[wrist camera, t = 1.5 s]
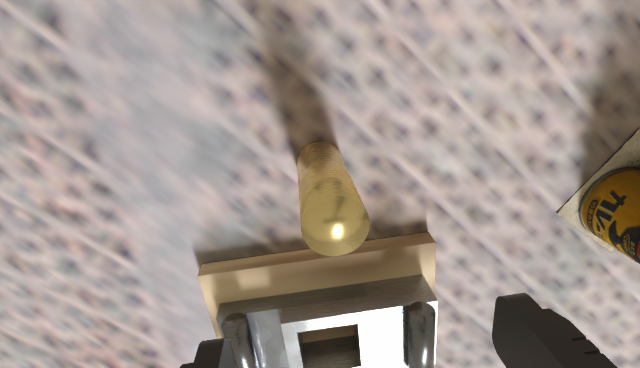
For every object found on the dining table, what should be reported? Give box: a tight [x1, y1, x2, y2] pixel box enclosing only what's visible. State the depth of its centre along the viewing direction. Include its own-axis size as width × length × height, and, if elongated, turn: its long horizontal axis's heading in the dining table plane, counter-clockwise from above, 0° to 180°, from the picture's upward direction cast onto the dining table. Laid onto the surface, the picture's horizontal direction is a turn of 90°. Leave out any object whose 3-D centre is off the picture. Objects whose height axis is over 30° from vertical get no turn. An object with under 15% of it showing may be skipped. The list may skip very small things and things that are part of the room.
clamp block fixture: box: [198, 232, 438, 368], centre depth 26 cm, size 12×18×6 cm, turn 96°
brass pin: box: [297, 141, 370, 256], centre depth 20 cm, size 3×3×9 cm
